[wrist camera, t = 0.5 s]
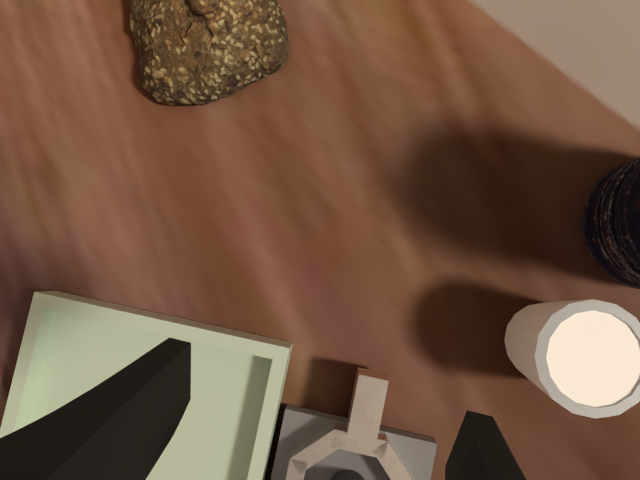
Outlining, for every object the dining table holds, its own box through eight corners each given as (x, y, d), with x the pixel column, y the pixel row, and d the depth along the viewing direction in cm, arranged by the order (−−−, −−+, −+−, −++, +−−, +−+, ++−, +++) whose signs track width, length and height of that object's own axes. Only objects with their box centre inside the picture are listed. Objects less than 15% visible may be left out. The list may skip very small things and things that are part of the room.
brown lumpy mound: (302, 80, 36) (296, 49, 31) (154, 124, 37) (124, 101, 32) (259, -65, 37) (247, -117, 32) (116, -21, 38) (82, -66, 33)
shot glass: (476, 339, 34) (510, 356, 27) (542, 275, 34) (593, 275, 27) (544, 409, 33) (597, 444, 26) (611, 343, 33) (682, 361, 26)
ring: (397, 569, 32) (401, 593, 29) (273, 538, 32) (268, 559, 30) (432, 383, 33) (439, 392, 30) (311, 356, 33) (308, 363, 31)
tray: (241, 587, 33) (233, 613, 31) (-2, 525, 35) (-29, 545, 32) (293, 342, 34) (289, 348, 32) (55, 290, 36) (34, 291, 33)
